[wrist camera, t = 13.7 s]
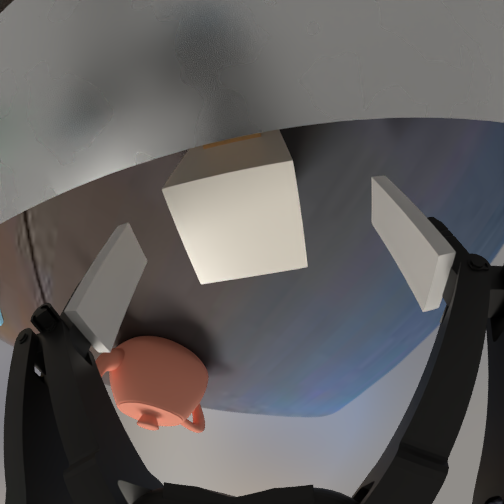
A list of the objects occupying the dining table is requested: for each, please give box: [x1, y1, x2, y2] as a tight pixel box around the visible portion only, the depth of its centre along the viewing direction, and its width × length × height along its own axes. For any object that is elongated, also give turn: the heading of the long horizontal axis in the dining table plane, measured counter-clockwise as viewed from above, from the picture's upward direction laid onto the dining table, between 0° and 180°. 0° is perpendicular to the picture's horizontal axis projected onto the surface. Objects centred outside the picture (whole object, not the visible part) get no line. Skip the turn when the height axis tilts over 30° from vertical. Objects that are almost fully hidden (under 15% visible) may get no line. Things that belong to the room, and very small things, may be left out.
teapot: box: [95, 336, 209, 433], centre depth 28 cm, size 12×18×10 cm
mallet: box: [162, 130, 308, 284], centre depth 10 cm, size 20×5×8 cm, turn 12°
